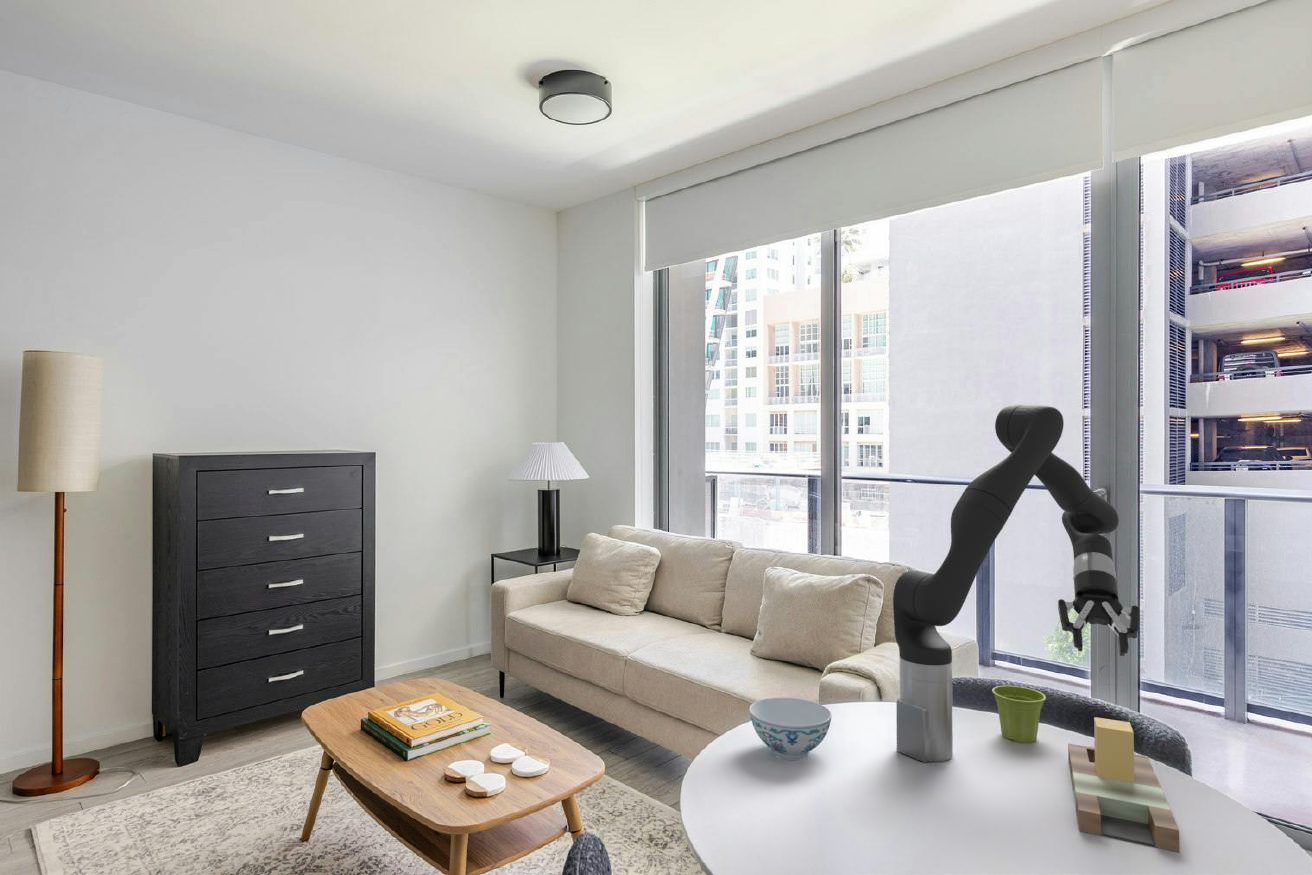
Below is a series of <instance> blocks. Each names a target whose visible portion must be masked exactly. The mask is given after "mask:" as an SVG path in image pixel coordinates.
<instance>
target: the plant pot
mask: <svg viewBox="0 0 1312 875" xmlns="http://www.w3.org/2000/svg"><path fill="white" fill-rule="evenodd" d="M991 692H992V694H993V695H994V698H995V701H996V705H997V710H998V711H997V712H998V719H999V724H1000V731H1001V736H1002V737H1004V738H1006V739H1007V740H1014V741H1016V742H1018V743H1022V744H1023V743H1026V744H1031V743H1034V742H1035V741H1036V740H1037V738H1038V737H1037V736H1038V731H1039V723H1040V717H1041V711H1042V707H1044V702H1045V701H1046V699H1047V696H1046V695H1045V694H1044V693H1043V692H1041V691H1039V690H1036V689H1032V688H1028V687H1024V686H1019V685H1018V686H1017V685H997V686H995V687H993V688H992V689H991Z"/></svg>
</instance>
